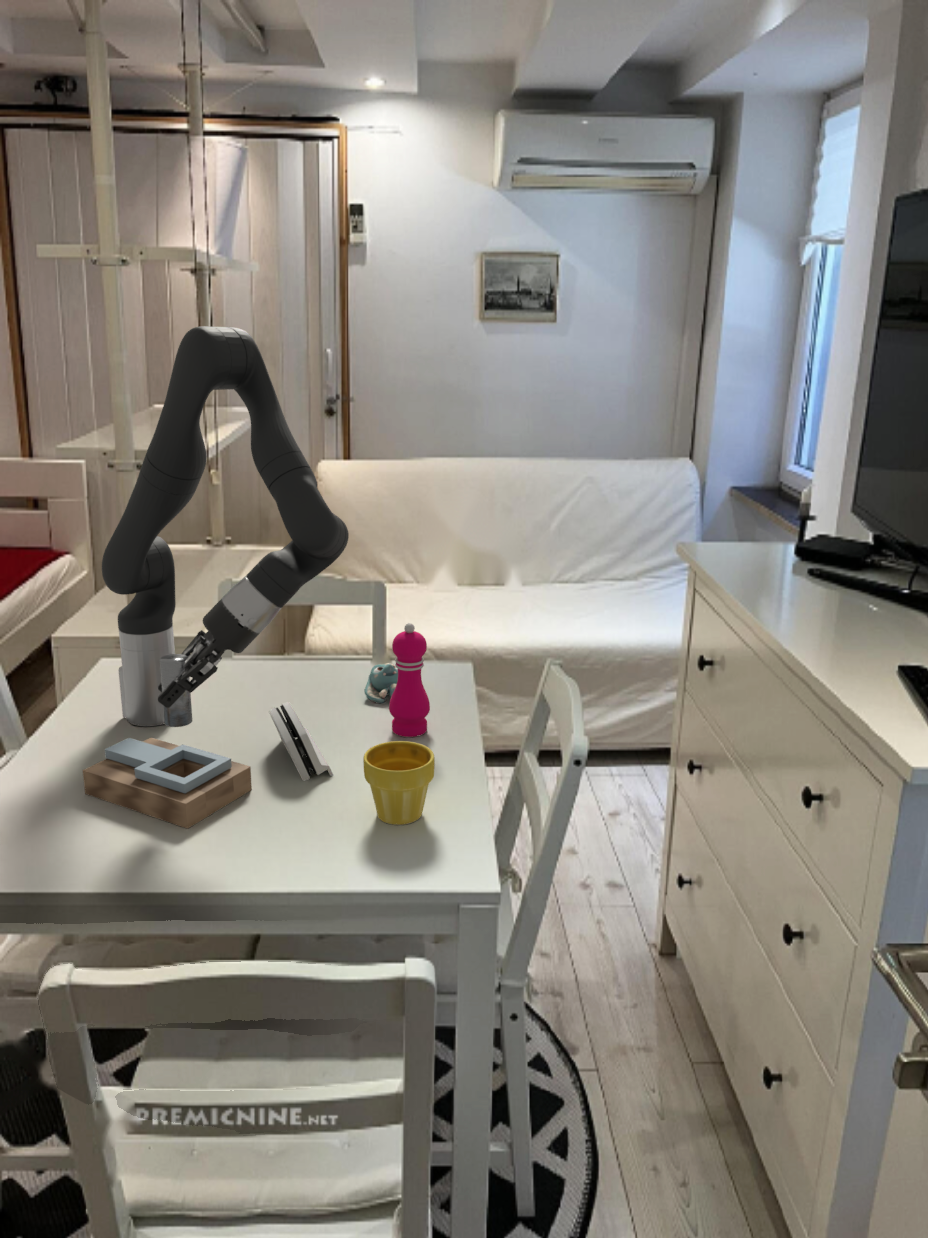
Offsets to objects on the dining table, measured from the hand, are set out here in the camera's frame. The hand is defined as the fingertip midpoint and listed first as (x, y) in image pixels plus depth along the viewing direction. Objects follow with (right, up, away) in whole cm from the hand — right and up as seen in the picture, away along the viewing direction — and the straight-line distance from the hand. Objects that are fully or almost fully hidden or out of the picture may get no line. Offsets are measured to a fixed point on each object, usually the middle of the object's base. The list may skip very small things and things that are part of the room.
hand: (162, 697), depth 148 cm
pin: (+2, -4, +2) cm, 5 cm away
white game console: (+17, -12, +20) cm, 29 cm away
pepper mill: (+35, -8, +31) cm, 47 cm away
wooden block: (-1, -15, +8) cm, 17 cm away
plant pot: (+35, -18, +2) cm, 39 cm away
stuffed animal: (+30, -4, +46) cm, 55 cm away
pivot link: (-2, -11, +7) cm, 13 cm away
